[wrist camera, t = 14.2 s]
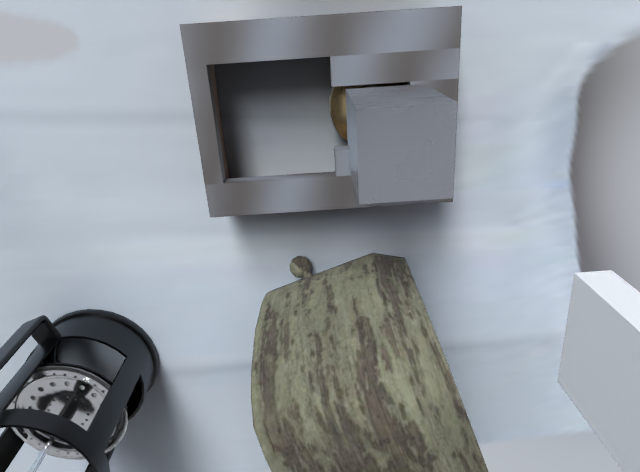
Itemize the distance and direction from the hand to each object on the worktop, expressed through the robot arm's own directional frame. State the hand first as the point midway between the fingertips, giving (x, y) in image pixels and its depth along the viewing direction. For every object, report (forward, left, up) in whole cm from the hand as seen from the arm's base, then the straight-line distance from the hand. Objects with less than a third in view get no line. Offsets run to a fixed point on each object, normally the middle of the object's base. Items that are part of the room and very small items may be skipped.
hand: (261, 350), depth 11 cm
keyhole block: (+2, +1, -25) cm, 25 cm away
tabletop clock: (+4, -15, -26) cm, 30 cm away
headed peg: (+5, +1, -25) cm, 26 cm away
